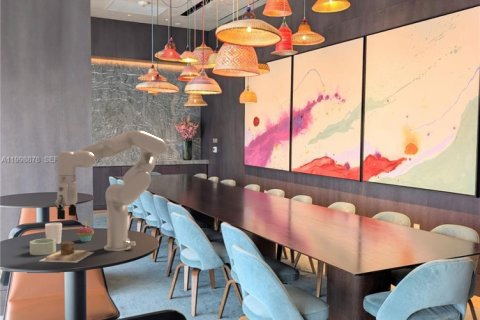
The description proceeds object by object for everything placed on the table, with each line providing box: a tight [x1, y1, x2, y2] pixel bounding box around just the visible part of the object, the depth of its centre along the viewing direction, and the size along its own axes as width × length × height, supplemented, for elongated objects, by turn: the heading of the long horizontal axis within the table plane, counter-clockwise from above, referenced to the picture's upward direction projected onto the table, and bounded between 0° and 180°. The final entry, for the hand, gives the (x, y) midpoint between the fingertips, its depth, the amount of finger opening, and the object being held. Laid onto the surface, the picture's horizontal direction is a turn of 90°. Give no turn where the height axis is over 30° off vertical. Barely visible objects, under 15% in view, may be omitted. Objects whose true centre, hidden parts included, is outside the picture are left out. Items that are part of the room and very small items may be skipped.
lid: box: [45, 241, 89, 261], centre depth 187 cm, size 13×13×6 cm
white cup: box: [44, 222, 63, 245], centre depth 212 cm, size 8×8×10 cm
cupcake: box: [76, 218, 95, 243], centre depth 219 cm, size 9×8×12 cm
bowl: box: [29, 237, 57, 256], centre depth 194 cm, size 11×11×6 cm
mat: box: [39, 251, 95, 264], centre depth 187 cm, size 17×17×1 cm
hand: (66, 217), depth 186 cm, fingers open, 9 cm apart
